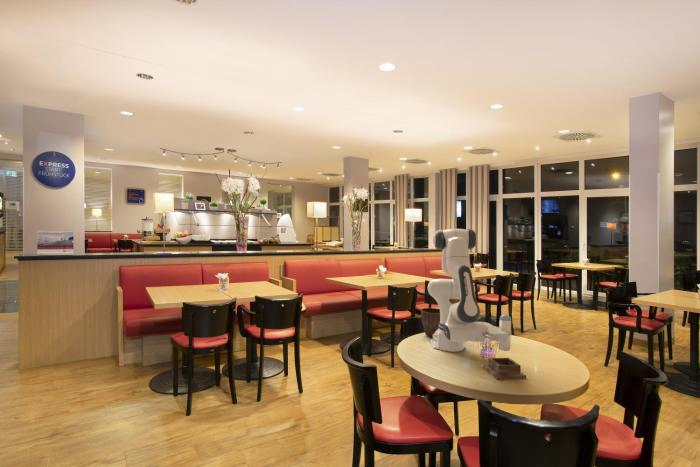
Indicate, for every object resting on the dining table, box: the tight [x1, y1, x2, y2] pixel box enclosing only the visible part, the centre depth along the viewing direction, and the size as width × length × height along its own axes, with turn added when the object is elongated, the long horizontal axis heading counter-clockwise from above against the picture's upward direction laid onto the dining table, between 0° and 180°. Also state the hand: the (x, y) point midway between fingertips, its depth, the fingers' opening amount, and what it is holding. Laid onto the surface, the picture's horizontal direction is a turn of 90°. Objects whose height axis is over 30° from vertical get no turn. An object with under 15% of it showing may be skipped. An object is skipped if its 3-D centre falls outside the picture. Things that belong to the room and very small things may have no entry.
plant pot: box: [420, 307, 440, 338], centre depth 244 cm, size 15×15×16 cm
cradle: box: [482, 357, 527, 381], centre depth 184 cm, size 14×14×6 cm
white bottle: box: [498, 313, 512, 352], centre depth 184 cm, size 5×5×16 cm
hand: (506, 331), depth 184 cm, fingers closed on white bottle, 5 cm apart
